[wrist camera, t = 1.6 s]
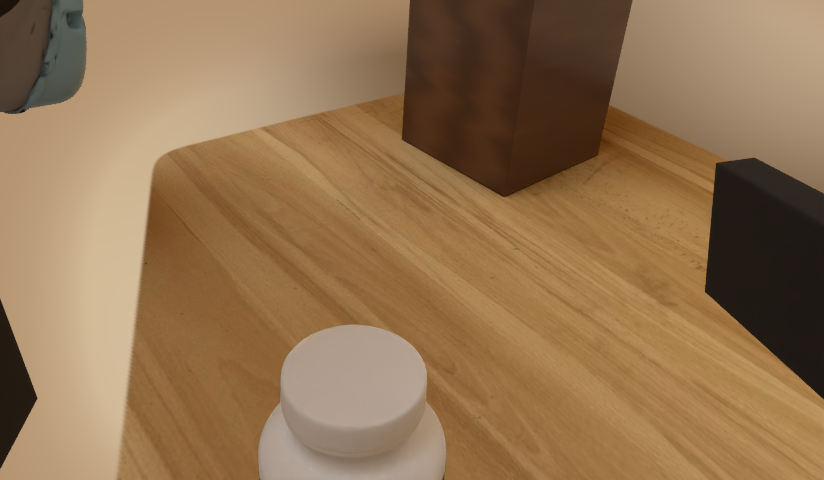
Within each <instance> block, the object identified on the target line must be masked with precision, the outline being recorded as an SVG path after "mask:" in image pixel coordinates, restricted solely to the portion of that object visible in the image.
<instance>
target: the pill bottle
mask: <svg viewBox="0 0 824 480" xmlns="http://www.w3.org/2000/svg"><path fill="white" fill-rule="evenodd" d="M280 384H281V394H280V400H281V402H280V403H279V404H278V405H277V406H276V408H275V409H274V410H273V412H272V413H271V415H270V416H269V418H268V420H267V422H266V424H265V426H264V429H263V431H262V434H261V438H260V442H259V450H258V464H259V475H260V480H444V474H445V467H446V441H445V436H444V432H443V429H442V426H441V424H440V421H439V419H438V417H437V415H436V414H435V412H434V410H433V409H432V408H431V406H430V405H429V404H428V403H427V401H426V392H427V372H426V367H425V364H424V361H423V359H422V357H421V356H420V354H419V353H418V351H417V350H416V349H415V348H414V347H413V346H412V345H411V344H410V343H409V342H408V341H406V340H405V339H403V338H402V337H400V336H398V335H397V334H395V333H392V332H390V331H388V330H384V329H381V328H377V327H374V326H366V325H341V326H335V327H331V328H327V329H323V330H320V331H318V332H315V333H313V334H311V335H309V336H308V337H306V338H305V339H303V340H301V341H300V342H299V343H298V344H297V345H296V346H295V347H294V348H293V349H292V350H291V351H290V353H289V354H288V355H287V357H286V359H285V361H284V364H283V366H282V370H281V380H280Z"/></svg>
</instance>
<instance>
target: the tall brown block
mask: <svg viewBox="0 0 824 480" xmlns="http://www.w3.org/2000/svg"><path fill="white" fill-rule="evenodd" d="M631 5H632V0H410V10H409V28H408V46H407V62H406V79H405V96H404V113H403V130H402V139H403V140H404V141H406V142H408V143H410V144H412V145H413V146H415V147H417V148H419V149H420V150H422V151H424V152H426V153H428V154H429V155H431V156H433V157H435V158H436V159H438V160H440V161H442V162H444V163H445V164H447V165H449V166H451V167H452V168H454V169H456V170H458V171H460V172H461V173H463V174H465V175H467V176H468V177H470V178H472V179H474V180H476V181H477V182H479V183H481V184H483V185H484V186H486V187H488V188H490V189H492V190H493V191H495V192H497V193H499V194H500V195H502V196H507V195H509V194H511V193H513V192H516V191H518V190H520V189H522V188H524V187H527V186H529V185H531V184H533V183H536V182H538V181H540V180H542V179H545V178H547V177H549V176H551V175H553V174H556V173H558V172H560V171H562V170H565V169H567V168H569V167H571V166H574V165H576V164H578V163H580V162H582V161H585V160H587V159H589V158H591V157H594V156H596V155H597V154H598V150H599V145H600V141H601V136H602V132H603V128H604V123H605V119H606V114H607V110H608V106H609V101H610V97H611V92H612V88H613V84H614V79H615V75H616V70H617V66H618V62H619V57H620V53H621V49H622V44H623V40H624V35H625V31H626V27H627V22H628V18H629V13H630V9H631Z"/></svg>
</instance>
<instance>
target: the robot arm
mask: <svg viewBox="0 0 824 480" xmlns="http://www.w3.org/2000/svg"><path fill="white" fill-rule="evenodd" d="M82 13H83V0H0V112H5V113H8V114H17V113H22V112H25V111H26V110H27V109H29V108H34V107H39V106H44V105H51V104H56V103H61V102H64V101H66V100H68V99H70V98H71V97H72V96H74V95H75V94H76V93H77V91H78V90H79V88H80V87H81V84H82V82H83V79H84V74H85V68H86V67H85V66H86V49H87V48H86V27H85V23H84V19H83V17H82ZM705 292H706V293H707V294H708V295H709V296H710V297H711V298H713V299H714V300H715V301H716V302H717V303H718V304H719V305H720V306H721V307H722V308H724V309H725V310H726V311H727V312H728V313H729V314H730V315H731V316H732V317H734V318H735V319H736V320H737V321H738V322H739V323H740V324H741V325H742V326H743V327H745V328H746V329H747V330H748V331H749V332H750V333H751V334H752V335H753V336H754V337H756V338H757V339H758V340H759V341H760V342H761V343H762V344H763V345H764V346H766V347H767V348H768V349H769V350H770V351H771V352H772V353H773V354H774V355H775V356H777V357H778V358H779V359H780V360H781V361H782V362H783V363H784V364H785V365H786V366H788V367H789V368H790V369H791V370H792V371H793V372H794V373H795V374H796V375H798V376H799V377H800V378H801V379H802V380H803V381H804V382H805V383H806V384H807V385H809V386H810V387H811V388H812V389H813V390H814V391H815V392H816V393H817V394H818V395H820V396H821V397H822V398H823V399H824V194H823V193H821V192H819V191H818V190H816V189H813V188H812V187H810V186H808V185H806V184H804V183H802V182H800V181H798V180H796V179H794V178H793V177H790V176H789V175H787V174H785V173H783V172H781V171H779V170H777V169H775V168H773V167H771V166H769V165H768V164H766V163H764V162H762V161H760V160H758V159H756V158H749V159H742V160H735V161H728V162H721V163H716V171H715V183H714V194H713V205H712V217H711V228H710V239H709V251H708V262H707V273H706V285H705ZM36 400H37V396H36V393H35V390H34V388H33V385H32V383H31V380H30V377H29V374H28V372H27V369H26V367H25V364H24V361H23V358H22V356H21V353H20V351H19V348H18V345H17V342H16V340H15V337H14V334H13V332H12V329H11V326H10V324H9V321H8V318H7V316H6V313H5V310H4V308H3V305H2V302H1V300H0V468H1V466H2V464H3V463H4V461H5V459H6V457H7V455H8V453H9V451H10V449H11V447H12V445H13V444H14V442H15V440H16V438H17V436H18V434H19V432H20V430H21V429H22V427H23V425H24V423H25V421H26V419H27V417H28V415H29V413H30V412H31V409H32V408H33V406H34V404H35V402H36Z"/></svg>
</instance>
